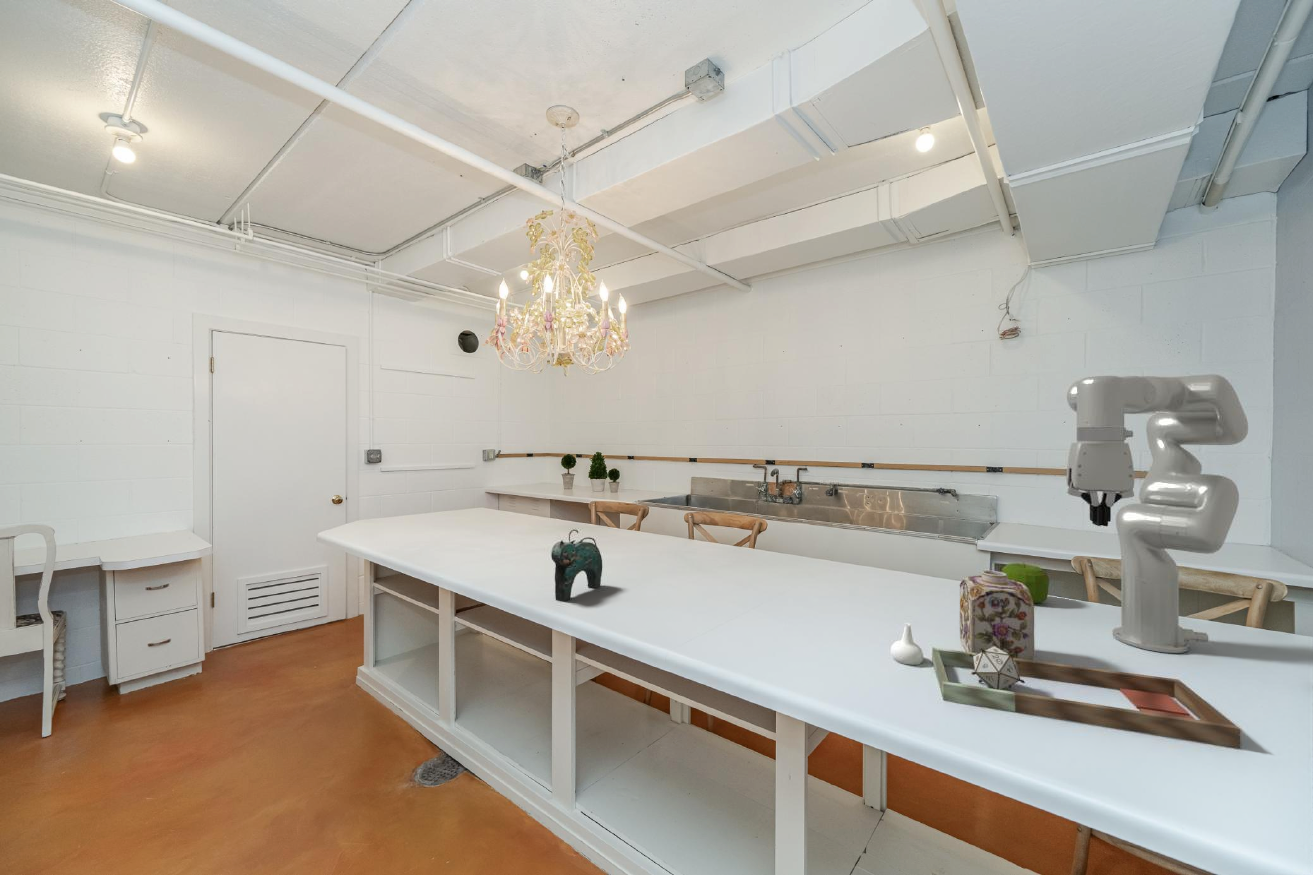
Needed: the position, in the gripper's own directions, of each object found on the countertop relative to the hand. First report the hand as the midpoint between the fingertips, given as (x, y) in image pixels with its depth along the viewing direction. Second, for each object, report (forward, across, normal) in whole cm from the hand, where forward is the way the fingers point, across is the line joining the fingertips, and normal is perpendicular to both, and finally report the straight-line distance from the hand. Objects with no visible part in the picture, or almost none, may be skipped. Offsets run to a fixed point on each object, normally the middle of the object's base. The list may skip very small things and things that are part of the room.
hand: (1100, 524), depth 108 cm
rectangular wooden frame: (+29, +12, +19) cm, 37 cm away
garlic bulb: (+29, +37, +11) cm, 49 cm away
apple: (+29, +3, -43) cm, 52 cm away
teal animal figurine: (+29, +127, -4) cm, 130 cm away
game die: (+29, +22, +19) cm, 42 cm away
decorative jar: (+29, +19, +2) cm, 35 cm away
